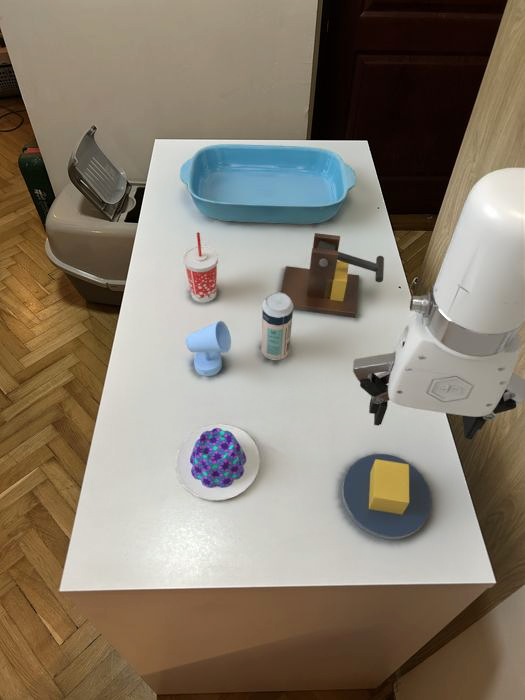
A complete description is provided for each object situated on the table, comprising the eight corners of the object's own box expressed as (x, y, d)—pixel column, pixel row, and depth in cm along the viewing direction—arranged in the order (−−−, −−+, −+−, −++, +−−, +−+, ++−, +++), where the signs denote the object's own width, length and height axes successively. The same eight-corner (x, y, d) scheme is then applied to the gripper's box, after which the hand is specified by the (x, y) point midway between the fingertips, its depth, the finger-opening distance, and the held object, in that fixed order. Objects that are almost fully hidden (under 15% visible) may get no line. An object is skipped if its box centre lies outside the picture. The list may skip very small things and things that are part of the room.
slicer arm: (380, 264, 94) (386, 254, 92) (380, 285, 91) (385, 276, 89) (316, 244, 93) (321, 234, 91) (313, 265, 90) (317, 255, 88)
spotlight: (233, 356, 89) (193, 351, 89) (232, 315, 81) (187, 311, 82) (229, 379, 86) (187, 375, 86) (227, 340, 78) (181, 335, 78)
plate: (427, 464, 77) (429, 460, 76) (430, 546, 70) (432, 543, 69) (345, 451, 78) (346, 447, 77) (338, 531, 71) (340, 528, 70)
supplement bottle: (282, 336, 92) (286, 287, 82) (293, 357, 89) (298, 308, 80) (257, 344, 91) (257, 294, 81) (267, 365, 88) (269, 316, 78)
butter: (344, 282, 99) (348, 262, 95) (343, 301, 96) (346, 281, 92) (326, 280, 99) (329, 259, 95) (323, 298, 96) (326, 278, 92)
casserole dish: (346, 173, 123) (351, 144, 118) (356, 234, 109) (362, 205, 104) (188, 169, 123) (185, 140, 118) (177, 230, 109) (173, 201, 104)
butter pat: (402, 477, 74) (409, 464, 71) (402, 514, 71) (409, 502, 68) (370, 472, 75) (375, 458, 72) (368, 509, 71) (374, 497, 68)
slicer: (358, 279, 101) (369, 230, 92) (355, 317, 95) (366, 268, 86) (285, 270, 102) (289, 220, 93) (278, 307, 96) (280, 258, 87)
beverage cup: (227, 290, 99) (224, 230, 88) (206, 310, 95) (201, 250, 84) (201, 277, 101) (195, 217, 90) (180, 296, 97) (171, 236, 86)
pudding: (232, 518, 72) (230, 502, 67) (159, 477, 75) (154, 460, 71) (274, 448, 78) (275, 430, 74) (206, 414, 82) (203, 395, 78)
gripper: (367, 334, 43) (340, 438, 57) (588, 364, 42) (506, 464, 55) (370, 272, 48) (345, 382, 61) (570, 297, 46) (498, 404, 60)
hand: (421, 420), depth 58 cm, fingers open, 9 cm apart
